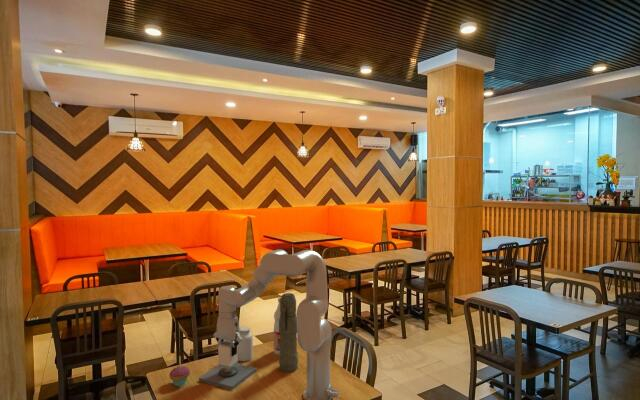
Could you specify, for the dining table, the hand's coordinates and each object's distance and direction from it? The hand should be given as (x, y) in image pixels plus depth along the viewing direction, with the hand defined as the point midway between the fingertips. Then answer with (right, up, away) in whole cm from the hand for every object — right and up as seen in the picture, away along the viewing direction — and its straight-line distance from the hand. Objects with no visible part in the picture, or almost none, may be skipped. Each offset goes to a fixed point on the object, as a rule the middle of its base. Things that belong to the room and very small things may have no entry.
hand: (228, 353), depth 176 cm
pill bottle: (+4, -10, +18) cm, 21 cm away
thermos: (+27, -10, +8) cm, 30 cm away
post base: (0, -11, 0) cm, 11 cm away
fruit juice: (+22, -10, +25) cm, 35 cm away
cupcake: (-19, -11, -6) cm, 23 cm away
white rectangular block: (0, -5, 0) cm, 5 cm away
